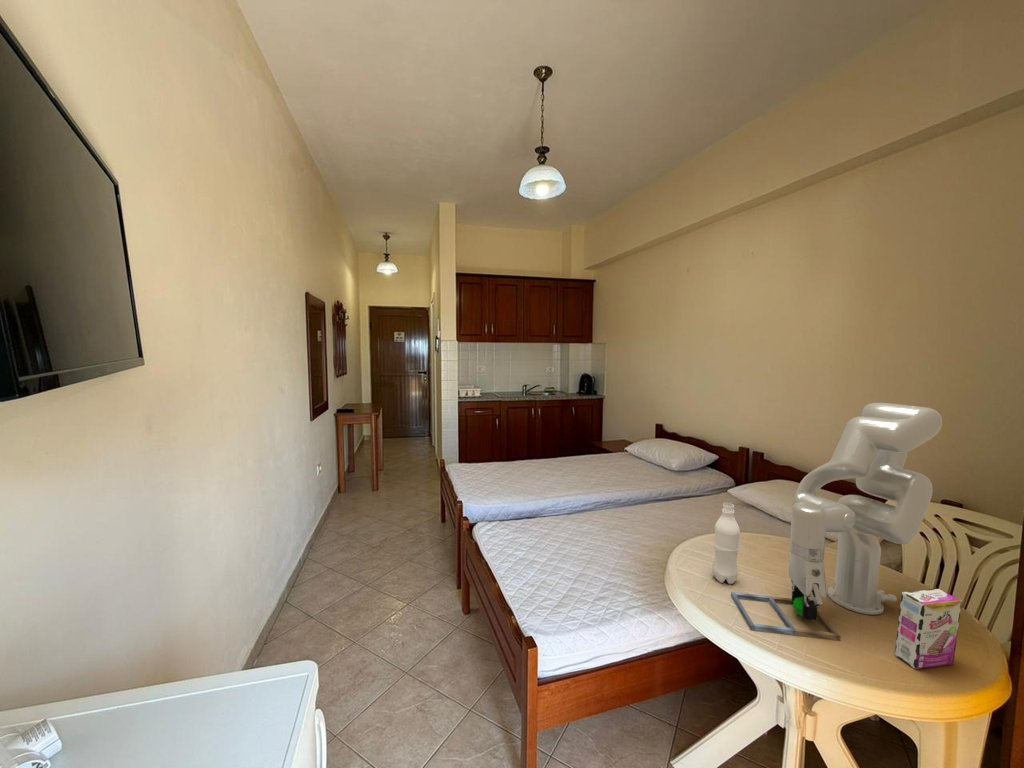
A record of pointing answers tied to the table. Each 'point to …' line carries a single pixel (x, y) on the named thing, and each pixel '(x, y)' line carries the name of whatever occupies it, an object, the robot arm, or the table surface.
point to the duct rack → (782, 618)
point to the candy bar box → (927, 628)
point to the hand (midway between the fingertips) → (803, 611)
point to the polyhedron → (799, 605)
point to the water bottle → (726, 546)
